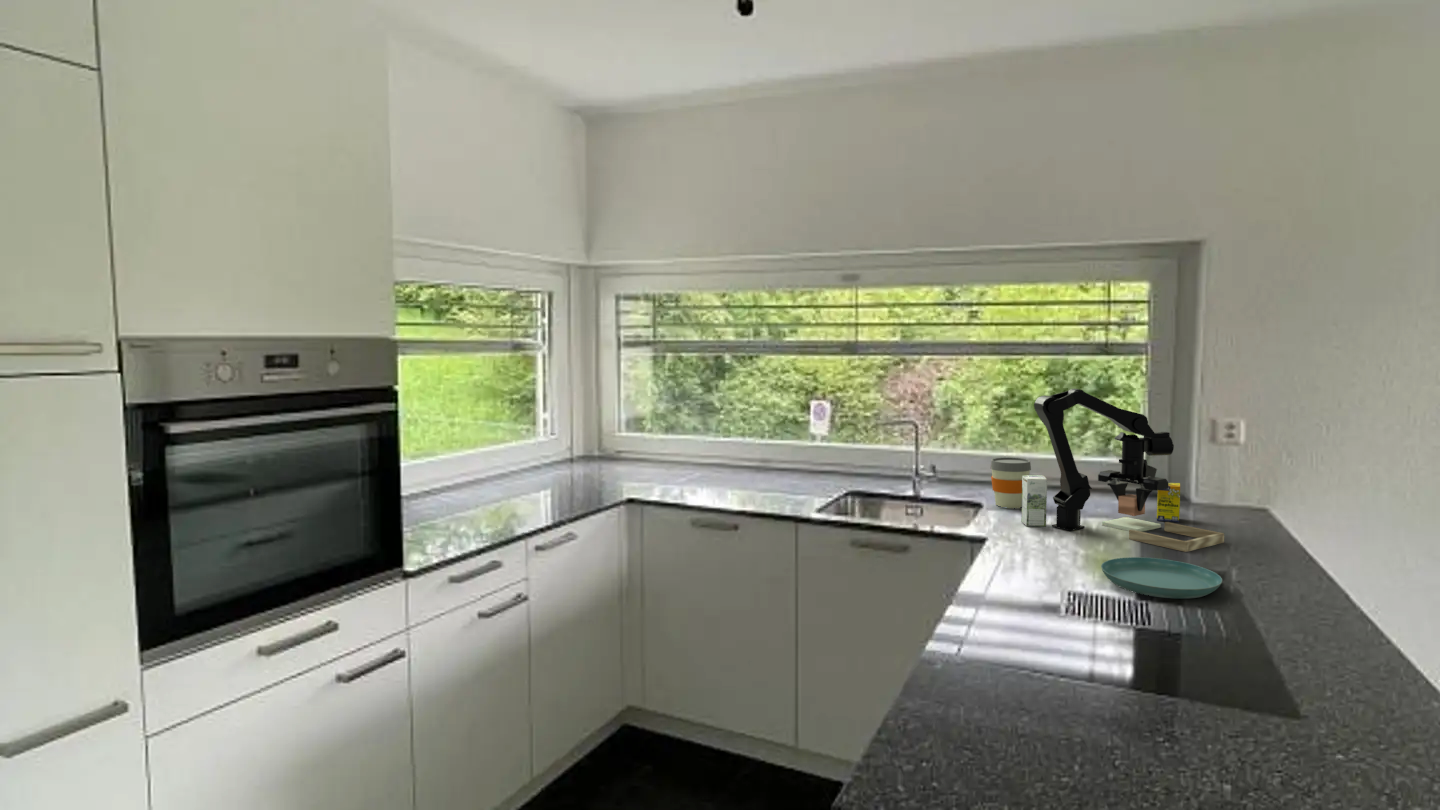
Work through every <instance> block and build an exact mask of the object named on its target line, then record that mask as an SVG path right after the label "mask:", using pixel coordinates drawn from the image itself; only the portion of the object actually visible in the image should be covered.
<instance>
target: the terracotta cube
mask: <svg viewBox="0 0 1440 810" xmlns="http://www.w3.org/2000/svg"><path fill="white" fill-rule="evenodd" d="M1117 501H1118V504H1117V505H1118V506H1117V514H1120V515H1121V514H1122V515H1128V516H1131V517H1135V516H1142V515H1145V514H1146V503H1145V504H1144V506H1143V509H1142V511H1138V507H1137V497H1136V494H1132V493H1131V494H1130V493H1128V494H1125V495H1121V496H1119V499H1118V500H1117Z"/></svg>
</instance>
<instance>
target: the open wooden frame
mask: <svg viewBox="0 0 1440 810" xmlns="http://www.w3.org/2000/svg"><path fill="white" fill-rule="evenodd" d="M1163 528H1164V532H1168V533H1173V534H1177V535H1182V536H1187V537H1191V538H1193V539H1188V540H1183V539H1182V540H1181V539H1176V538H1172V537H1169V536H1163V535H1158V534H1153V533H1148V532H1146V531H1143V532H1140V531H1136V530H1129V531H1128V540H1130V541H1131V540H1132V541H1136V542H1140V543H1144V544H1145V543H1146V544H1149V545H1153V546H1158V547H1163V548H1166V549H1170V550H1174V551H1175V550H1176V551H1180V552H1185V553H1187V552H1191V551H1195V550H1196V551H1197V550H1199V549H1204V548H1206V547H1207V548H1208V547H1211V546H1215V545H1220V544H1224V543H1225V533H1224V532H1218V531H1214V530H1210V529H1209V530H1208V529H1204V528H1199V527H1194V526H1191V525H1190V526H1189V525H1185V524H1180V523H1176V522H1167V521H1164V527H1163Z"/></svg>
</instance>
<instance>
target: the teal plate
mask: <svg viewBox="0 0 1440 810" xmlns="http://www.w3.org/2000/svg"><path fill="white" fill-rule="evenodd" d="M1100 567H1101V570H1102V572H1103V574H1104V575H1105V577H1107V579H1108V580H1109V581H1111V582H1112V583H1113V584H1114V585H1115V586H1117V587H1119V588H1121V589H1123V590H1125V589H1126V590H1125V591H1128V590H1129V592H1131V591H1133V592H1132V593H1135V592H1136V593H1135V594H1139V593H1140V594H1139V595H1143V594H1144V596H1148V595H1149V597H1155V598H1162V599H1164V598H1165V599H1175V600H1176V599H1177V600H1178V599H1183V600H1184V599H1196V598H1202V597H1204V596H1205V597H1206V596H1209V594H1211V593H1214V592H1215V591H1216V590H1218V588H1220V586H1221V585H1222V583H1223V578H1222V577H1221V575H1219V574H1218V573H1217V572H1215V571H1213V570H1210V569H1208V568H1206V567H1202V566H1199V565H1197V564H1192V563H1188V562H1183V561H1179V560H1178V561H1177V560H1171V559H1165V558H1157V557H1156V558H1155V557H1143V556H1142V557H1139V556H1138V557H1135V556H1134V557H1133V556H1131V557H1119V558H1118V557H1117V558H1112V559H1108V560H1105V561H1103V562H1102V563H1101V565H1100Z"/></svg>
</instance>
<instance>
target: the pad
mask: <svg viewBox="0 0 1440 810" xmlns="http://www.w3.org/2000/svg"><path fill="white" fill-rule="evenodd" d="M1101 524H1102V525H1101V526H1105V527H1107V528H1108V527H1109V528H1113V529H1118V530H1123V531H1126V532H1129V530H1136V531H1140V532H1147V531H1151V530H1155V529H1160V528H1162V523H1157V522H1153V521H1147V520H1142V519H1138V518H1137V519H1136V518H1133V517H1128V516H1127V517H1126V516H1125V517H1120V518H1115V519H1110V520H1105V521H1102V522H1101Z"/></svg>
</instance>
